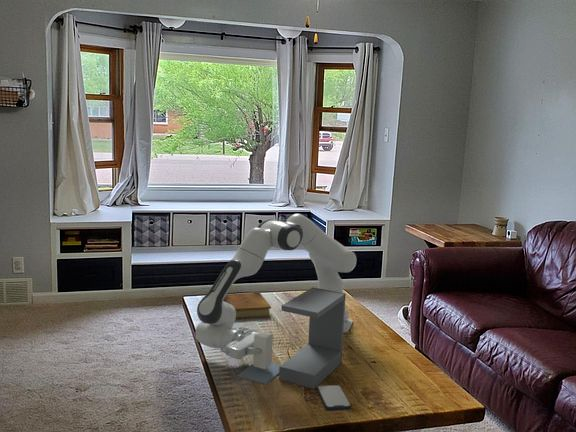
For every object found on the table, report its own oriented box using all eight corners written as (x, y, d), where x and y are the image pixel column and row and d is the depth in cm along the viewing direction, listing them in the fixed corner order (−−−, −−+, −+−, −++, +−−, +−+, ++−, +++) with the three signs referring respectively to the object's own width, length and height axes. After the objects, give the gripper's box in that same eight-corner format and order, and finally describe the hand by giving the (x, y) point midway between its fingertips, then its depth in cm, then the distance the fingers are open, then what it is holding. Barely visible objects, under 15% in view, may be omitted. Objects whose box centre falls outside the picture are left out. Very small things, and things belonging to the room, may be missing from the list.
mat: (259, 360, 219) (259, 359, 218) (286, 367, 213) (286, 366, 213) (237, 376, 205) (237, 374, 204) (265, 384, 199) (265, 382, 199)
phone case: (315, 389, 198) (325, 412, 183) (315, 385, 198) (326, 407, 182) (340, 388, 200) (352, 410, 184) (340, 384, 199) (352, 406, 184)
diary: (223, 305, 284) (223, 294, 283) (259, 303, 289) (259, 292, 288) (231, 320, 262) (232, 308, 261) (270, 317, 267) (270, 306, 267)
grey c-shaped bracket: (309, 354, 226) (312, 287, 222) (341, 362, 220) (345, 293, 215) (278, 379, 204) (281, 305, 199) (313, 388, 197) (317, 312, 193)
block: (259, 361, 212) (261, 330, 210) (271, 364, 209) (272, 333, 207) (253, 366, 207) (254, 335, 205) (264, 369, 205) (266, 338, 203)
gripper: (218, 341, 203) (250, 350, 197) (247, 325, 221) (278, 332, 215) (217, 358, 204) (250, 367, 198) (247, 340, 222) (277, 347, 216)
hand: (265, 348), depth 207 cm, fingers closed on block, 5 cm apart
